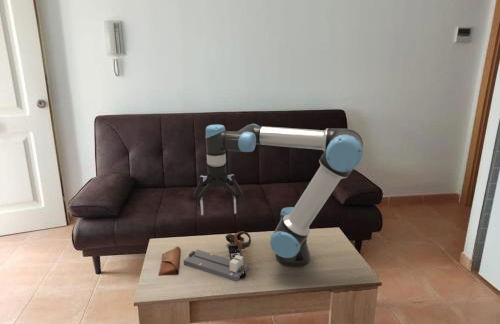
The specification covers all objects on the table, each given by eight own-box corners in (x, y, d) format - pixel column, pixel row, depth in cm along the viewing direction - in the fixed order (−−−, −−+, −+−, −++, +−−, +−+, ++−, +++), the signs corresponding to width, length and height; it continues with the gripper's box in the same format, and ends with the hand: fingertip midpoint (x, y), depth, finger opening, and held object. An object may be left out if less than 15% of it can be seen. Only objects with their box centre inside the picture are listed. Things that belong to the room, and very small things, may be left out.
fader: (243, 265, 152) (243, 256, 151) (236, 272, 147) (236, 263, 146) (236, 263, 153) (236, 254, 152) (229, 270, 148) (229, 261, 147)
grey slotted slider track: (248, 269, 154) (248, 262, 153) (236, 281, 145) (236, 274, 144) (197, 253, 165) (197, 247, 164) (183, 264, 157) (183, 257, 156)
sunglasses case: (161, 253, 165) (168, 241, 164) (175, 259, 167) (182, 247, 166) (157, 276, 148) (165, 263, 147) (173, 283, 150) (181, 270, 149)
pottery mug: (248, 240, 178) (253, 231, 172) (247, 257, 171) (251, 248, 165) (224, 235, 176) (228, 225, 171) (222, 252, 169) (225, 242, 164)
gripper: (247, 160, 150) (248, 207, 156) (185, 162, 149) (189, 210, 155) (248, 165, 143) (249, 215, 149) (184, 167, 142) (187, 218, 148)
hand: (218, 213), depth 152 cm, fingers open, 13 cm apart
